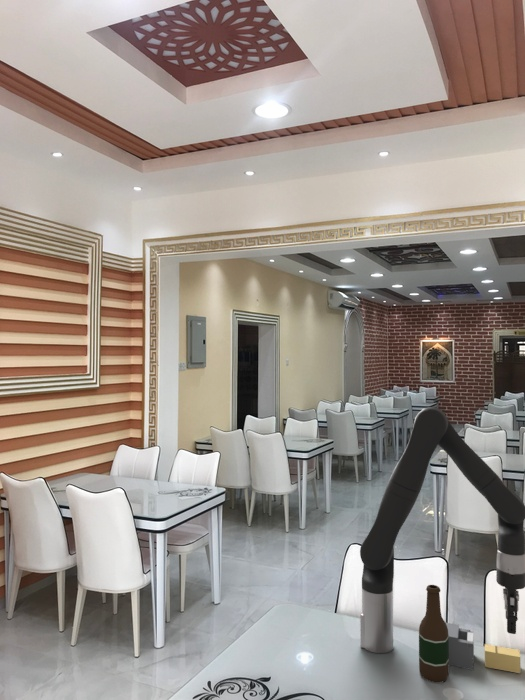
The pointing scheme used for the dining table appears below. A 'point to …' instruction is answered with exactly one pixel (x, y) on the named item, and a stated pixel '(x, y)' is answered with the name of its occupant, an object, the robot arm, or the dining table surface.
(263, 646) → the dining table surface
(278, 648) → the dining table surface
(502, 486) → the robot arm
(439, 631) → the beer bottle
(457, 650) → the dispenser
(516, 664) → the yellow rectangular block
